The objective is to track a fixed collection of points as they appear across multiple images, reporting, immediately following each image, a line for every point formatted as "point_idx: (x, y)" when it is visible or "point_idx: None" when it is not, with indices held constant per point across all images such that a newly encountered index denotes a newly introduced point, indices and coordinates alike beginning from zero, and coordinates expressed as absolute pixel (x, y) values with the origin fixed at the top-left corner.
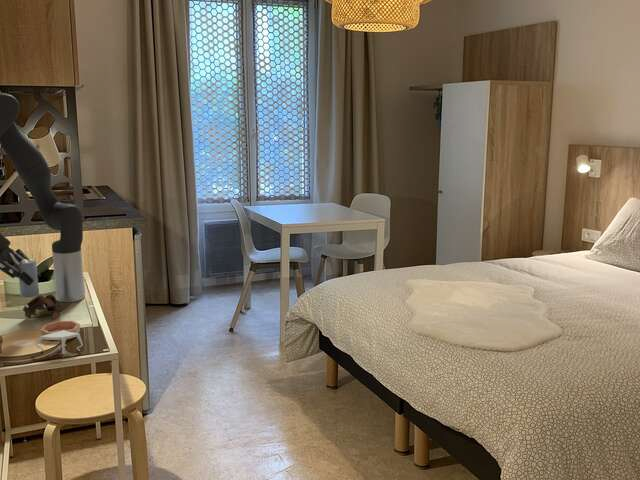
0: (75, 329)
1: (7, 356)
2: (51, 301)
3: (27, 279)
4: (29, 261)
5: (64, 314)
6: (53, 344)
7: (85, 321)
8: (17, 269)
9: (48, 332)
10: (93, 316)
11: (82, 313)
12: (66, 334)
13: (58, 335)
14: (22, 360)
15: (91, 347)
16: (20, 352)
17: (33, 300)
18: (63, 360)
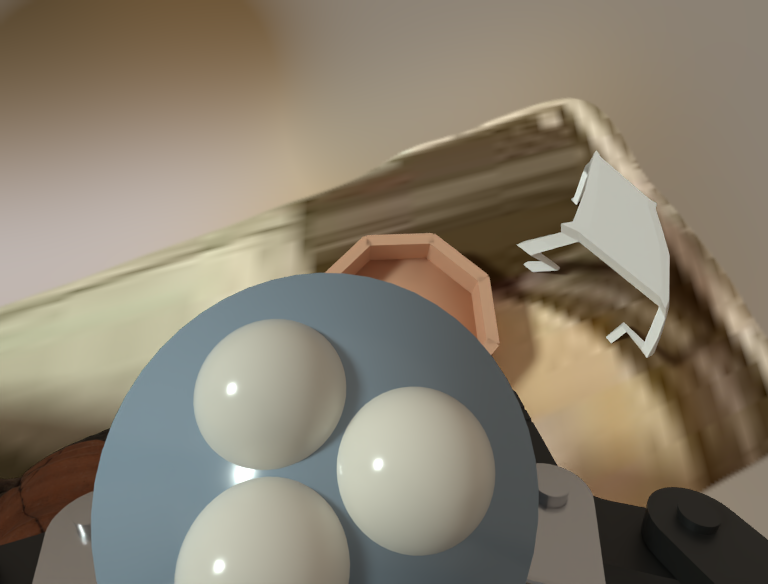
0: (435, 235)
1: (702, 480)
2: (72, 456)
3: (522, 411)
4: (334, 392)
5: (83, 414)
6: (525, 319)
7: (221, 272)
8: (680, 543)
9: (494, 341)
10: (150, 256)
11: (88, 321)
12: (619, 198)
13: (639, 227)
14: (723, 386)
15: (536, 168)
16: (642, 436)
17: None
18: (677, 226)
